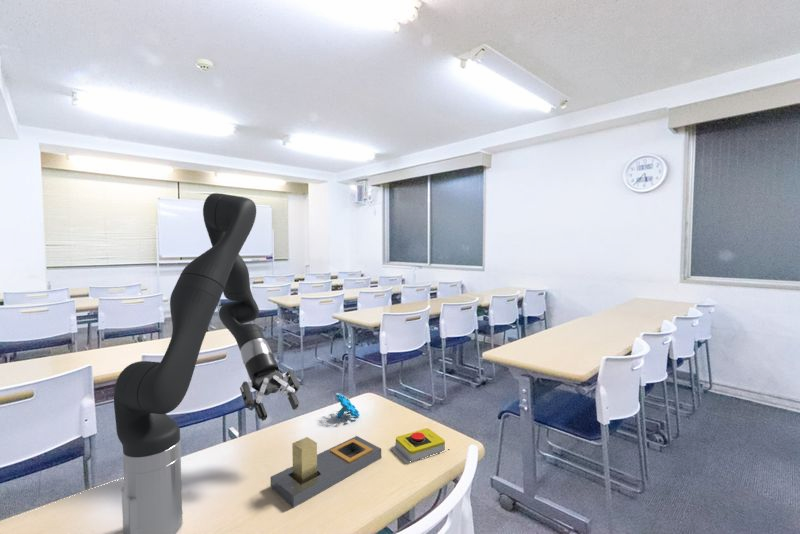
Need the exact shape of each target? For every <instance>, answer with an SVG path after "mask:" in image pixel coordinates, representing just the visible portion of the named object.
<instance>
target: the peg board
mask: <svg viewBox="0 0 800 534" xmlns="http://www.w3.org/2000/svg"><path fill="white" fill-rule="evenodd" d="M352 453H353V454H355V455H353V456H352V457H349V456H348V455H350V454H352ZM381 459H382V448H381V447H379V446H378V445H375V444H374V443H371V442H369V441H367V440H366V439H365V438H364V439H363V438H362V437H360V436H357V435H355V436H354V437H352V438H349V439H348V440H345V441H343V442H340V443H338V444H337V445H335V446H333V447H330V448H328V449H326V450H324V451H322V452H319V453H317V477H315V478H313V479H311V480H309V481H308V482H306V483H304V484H302V485H301V484H299V483H298V482H297V481H295V480H294V479H293V465H292V466H290V467H288V468H287V469H283V470H282V471H280V472H278V473H276V474H273V475H271V476H270V488H271V489H272V490H273V491H274V492H275V493H276V494H278V496H280V497H281V498H282V499H283V500H284V501H285V502H287V503H288V504H289V505H290V506H291V507H292V508H297V506H299V505H301V504H302V503H304V502H306V501H308V500H309V499H312V498H313V497H316V496H317V495H319V494H320V493H322V492H324V491H326V490H327V489H330V488H331V487H333V486H335V485H336V484H339V483H340V482H341V481H343V480H345V479H347V478H348V477H350V476H352V475H354V474H356V473H358V472H359V471H361V470H362V469H364V468H366V467H368V466H369V465H371V464H373V463H375V462H377V461H379V460H381Z"/></svg>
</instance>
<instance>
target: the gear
mask: <svg viewBox="0 0 800 534" xmlns="http://www.w3.org/2000/svg"><path fill="white" fill-rule="evenodd" d="M336 399H337V402H339V403H340V405H341V408H340V409H339V413H338V414H337V415H336V418H338V419H340V418H341V416H342V415H344V414H345V412H347V413H349V412H350V415H351V416H352V417H354V418H356V419H358V418H359V416H360V413H359V410H358V409H356V406H355V405H354V404H352V402H351V401H350V399H349V398H347V397H346V396H344V395H342V394H341V393H338V394H337V395H336Z"/></svg>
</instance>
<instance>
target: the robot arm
mask: <svg viewBox="0 0 800 534" xmlns="http://www.w3.org/2000/svg"><path fill="white" fill-rule="evenodd" d="M202 207H203V208H202V216H203V222H204V226H205V229H206V232H207V235H208V237H209V240H210V243H211V247H210V248H209V249H207V250H206V251H204V252H203V253H201V254H200V255H198V256H197V257H196V258H194V259H193V260H192V261H190V263H188V264H187V265H186V266H185V267H184V268H183V270H182V271H181V273H180V275H179V277H178V279H177V281H176V283H175V285H174V287H173V290H172V291H171V294H170V299H169V309H170V318H171V324H172V330H171V331H172V333H171V338H170V340H169V341H170V342H169V344H168V346H167V348H166V351H165V352H164V355H163V358H162V359H161V361H151V360H149V361H148V360H140V361H135V362H132V363H131V364H129V365H127V366H126V367H125V368H123V370H122V371H121V372H120V373H119V375H118V377H117V379H116V381H115V384H114V391H113V406H114V407H113V408H114V418H115V428H116V436H117V438H118V440H119V441H120V443H121V445H122V454H123V455H122V457H123V483H124V484H123V487H122V488H121V505H122V506H121V508H122V534H176V533H177V532H178V531H179V530H180V529H181V527H182V524H183V514H184V513H183V496H182V495H183V493H182V457H181V456H182V455H181V454H182V452H181V429H180V428H181V427H180V425H179V423H178V422H177V421H175V420H174V419H173V418H172V417H170V416H169V415H168V413H171V412H173V411H174V410H175V409H177V408H178V407H179V405H180V404H181V403H182V402H183V400H184V398H185V396H186V395H187V392H188V390H189V388H190V385H191V381H192V378H193V375H194V372H195V369H196V365H197V362H198V359H199V354H200V351H201V348H202V344H203V342H204V340H205V336H206V333H207V331H208V329H209V326H210V323H211V320H212V318H213V316H214V314H215V311H216V309H217V307H218V305H219V302H220V300H221V298H222V295H223V296H224V297H225V299H227V300H229V301H230V302H226V303H224V304H222V305H221V306H220V308H219V310H218V316H219V320H220V322H221V323H222V325H223V326H225V328H226V330H228V332H230V333H231V335H232V337H233V338H234V339H235V341H236V344H237V345H238V346H237V347H238V349H239V351H240V355H241V359H242V363H243V365H244V367H245V369H246V372H247V375H248V377H249V379H250V382H247V381H243V382H242V384H241V386H240V387H239V389H240V392H241V393H240V394H241V397H242V399H243V400H242V401H243V403H244V407H245V408H247V409H248V408H254V410H255V411H256V415H257V418H258V419H259V420H261V421H265V420H267V418H268V413H267V411H266V407H265V405H264V403H263V402H262V400H263V396H265V397H266V396H269V395H271V394H276V393H280V394H284V395H285V396H287V397H288V398H287V399H288V401H289V404H290V406H291V408H292V410H293V411H295V410H297V409H298V408H299V404H300V402H299V399H298V397H297V395H296V394H297V393H298V391H299V390H300V388H301V385H300V384H299V381H298V380H297V378H296V376H295V374H294V372H293V371H292V369H288V370H287V371H286V372H283V373H282V372H281V371H280V369H279V364H278V363H277V361H276V359H275V355H274V354H273V351H272V350H271V347H270V345H269V344H268V342H267V340H266V338H265V336H264V333H263V331H262V329H261V327H260V326H259V325H258V324H256V323H251V322H253V321H255V320H256V319H257V318H258V317H259V314H260V310H259V309H260V308H259V306H258V304H257V302H256V300H255V298H254V296H253V293H252V291H251V290H252V289H251V281H250V272H249V268H248V266H247V264H246V262H245V260H244V259H243V258H242V256H241V255H240V252H241V250H242V249H243V246H244V244H245V243H246V241H247V238H248V237H249V235H250V233H251V231H252V229H253V227H254V224H255V221H256V218H257V217H256V216H257V206H256V203H255V202H254V201H253V200H252V199H251V198H248V197H245V196H239V195H238V196H237V195H231V194H225V193H217V192H215V193H211V194H209V195H208V196H207V197H206V198H205V200H204V203H203V206H202ZM251 389H253V390H255V391H257V393H256V395H255V399H253V396H252V393H251Z"/></svg>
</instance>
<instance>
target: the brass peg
mask: <svg viewBox="0 0 800 534" xmlns="http://www.w3.org/2000/svg"><path fill="white" fill-rule="evenodd" d="M291 445H292V466H293V479H294V480H295V481H297V482H298V483H299V484H301V485H302V484H304V483H306V482H308V481H309V480H311V479H313V478H315V477H317V455H318V445H317V442H316V441H315V440H313V439H312V438H310V437H308V436H306V437H304V438H302V439H299V440H297V441H294V442H292V443H291Z"/></svg>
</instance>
